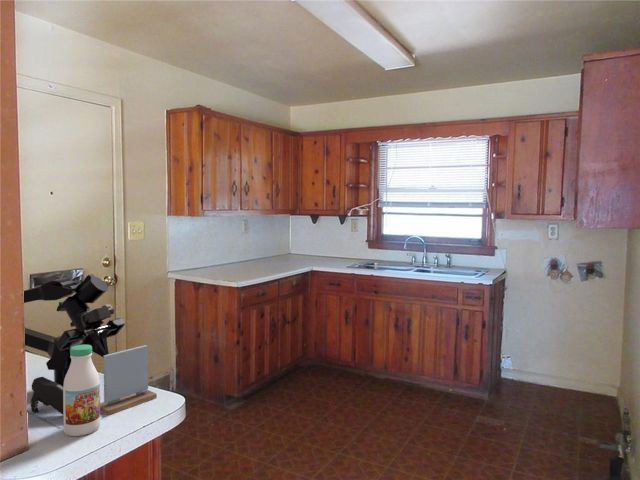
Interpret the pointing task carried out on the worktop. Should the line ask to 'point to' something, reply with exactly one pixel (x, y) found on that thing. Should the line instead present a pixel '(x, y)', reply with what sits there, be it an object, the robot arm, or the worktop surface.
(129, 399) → the board
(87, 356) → the milk bottle
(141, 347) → the flap door
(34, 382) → the gun
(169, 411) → the worktop surface
